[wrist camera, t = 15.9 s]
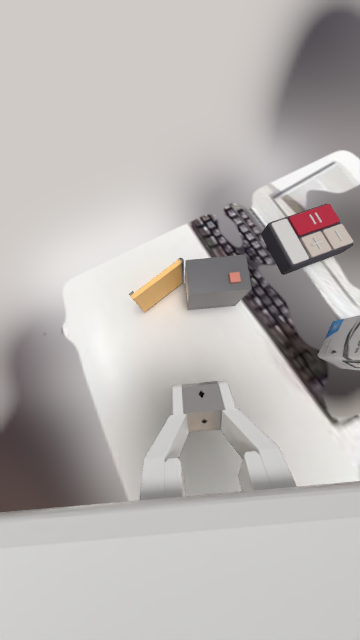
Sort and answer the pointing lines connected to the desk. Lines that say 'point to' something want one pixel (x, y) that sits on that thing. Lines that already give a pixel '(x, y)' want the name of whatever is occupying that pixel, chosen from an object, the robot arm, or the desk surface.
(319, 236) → the calculator
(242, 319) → the desk surface
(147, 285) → the side door
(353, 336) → the ink box
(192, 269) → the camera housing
